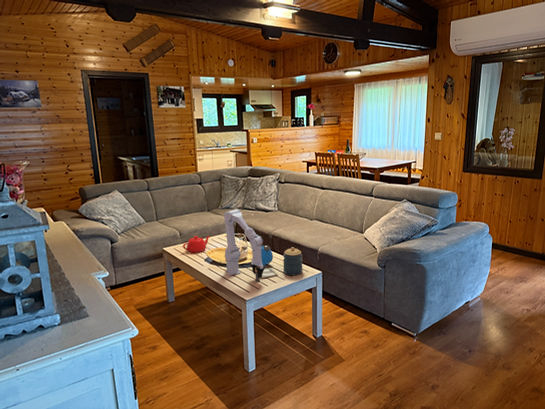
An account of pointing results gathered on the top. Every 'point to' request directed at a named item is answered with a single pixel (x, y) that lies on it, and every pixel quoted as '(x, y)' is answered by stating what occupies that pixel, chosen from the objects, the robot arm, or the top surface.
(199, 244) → the teapot
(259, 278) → the marker
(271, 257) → the alarm clock
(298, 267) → the canister
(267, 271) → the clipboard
